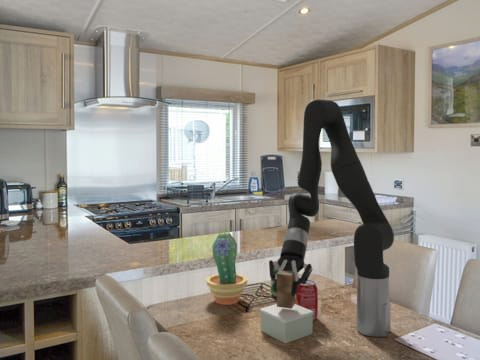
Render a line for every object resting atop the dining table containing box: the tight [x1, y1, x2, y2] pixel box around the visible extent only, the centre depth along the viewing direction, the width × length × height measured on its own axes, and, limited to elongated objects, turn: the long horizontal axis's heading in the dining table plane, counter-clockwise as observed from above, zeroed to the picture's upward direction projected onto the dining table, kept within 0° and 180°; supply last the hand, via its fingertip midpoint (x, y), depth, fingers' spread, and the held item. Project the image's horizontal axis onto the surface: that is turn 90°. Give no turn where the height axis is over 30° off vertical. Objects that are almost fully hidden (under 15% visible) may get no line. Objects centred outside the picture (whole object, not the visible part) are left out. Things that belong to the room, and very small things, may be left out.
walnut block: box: [276, 270, 296, 309], centre depth 129 cm, size 4×4×10 cm
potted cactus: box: [205, 232, 248, 306], centre depth 157 cm, size 15×15×25 cm
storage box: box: [259, 303, 314, 344], centre depth 130 cm, size 11×11×7 cm
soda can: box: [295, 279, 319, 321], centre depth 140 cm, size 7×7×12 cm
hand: (284, 293), depth 127 cm, fingers closed on walnut block, 4 cm apart
